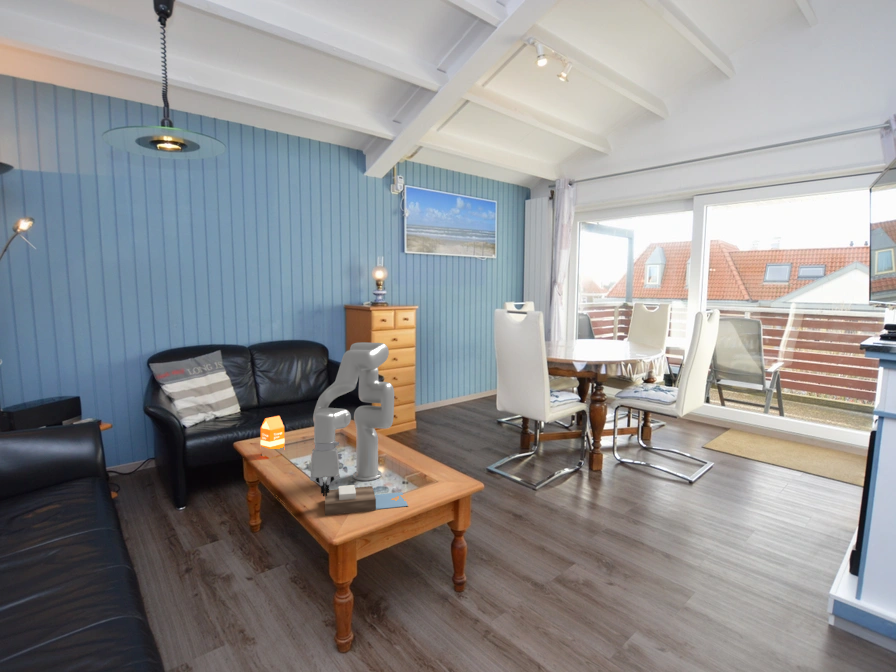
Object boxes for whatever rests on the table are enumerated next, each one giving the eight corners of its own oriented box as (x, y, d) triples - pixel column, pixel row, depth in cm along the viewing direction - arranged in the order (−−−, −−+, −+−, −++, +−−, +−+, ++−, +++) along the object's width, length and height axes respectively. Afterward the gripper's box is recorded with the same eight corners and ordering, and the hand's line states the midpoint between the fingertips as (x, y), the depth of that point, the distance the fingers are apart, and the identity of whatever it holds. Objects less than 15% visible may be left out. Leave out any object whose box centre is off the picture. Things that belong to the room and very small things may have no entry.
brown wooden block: (325, 500, 176) (325, 490, 176) (372, 496, 180) (372, 486, 180) (325, 515, 162) (324, 504, 162) (375, 510, 167) (375, 499, 167)
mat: (372, 495, 181) (372, 494, 181) (402, 492, 184) (402, 492, 184) (375, 509, 167) (375, 508, 167) (407, 506, 170) (407, 505, 170)
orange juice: (284, 454, 237) (284, 416, 236) (270, 458, 229) (269, 419, 228) (275, 452, 241) (274, 414, 240) (260, 456, 233) (260, 417, 233)
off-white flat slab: (338, 491, 175) (338, 486, 175) (354, 489, 176) (354, 484, 176) (339, 500, 166) (339, 494, 166) (356, 498, 167) (356, 493, 167)
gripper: (345, 442, 174) (345, 489, 174) (304, 444, 170) (304, 493, 171) (345, 447, 167) (346, 496, 167) (303, 450, 163) (303, 500, 163)
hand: (325, 494), depth 169 cm, fingers closed
